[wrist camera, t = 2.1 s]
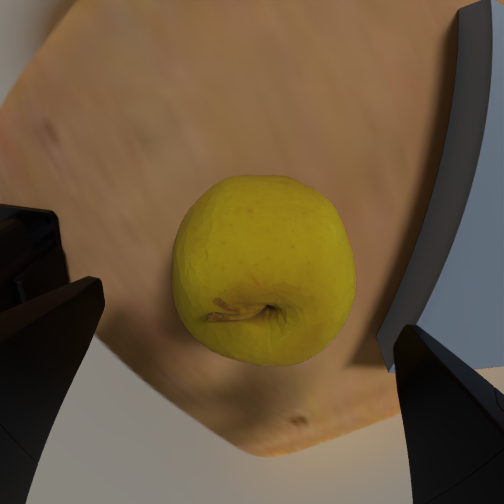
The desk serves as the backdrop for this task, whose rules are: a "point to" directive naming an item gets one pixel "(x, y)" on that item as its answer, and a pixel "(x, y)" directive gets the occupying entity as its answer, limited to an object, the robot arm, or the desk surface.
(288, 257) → the apple
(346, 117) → the desk surface
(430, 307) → the book
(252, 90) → the desk surface
